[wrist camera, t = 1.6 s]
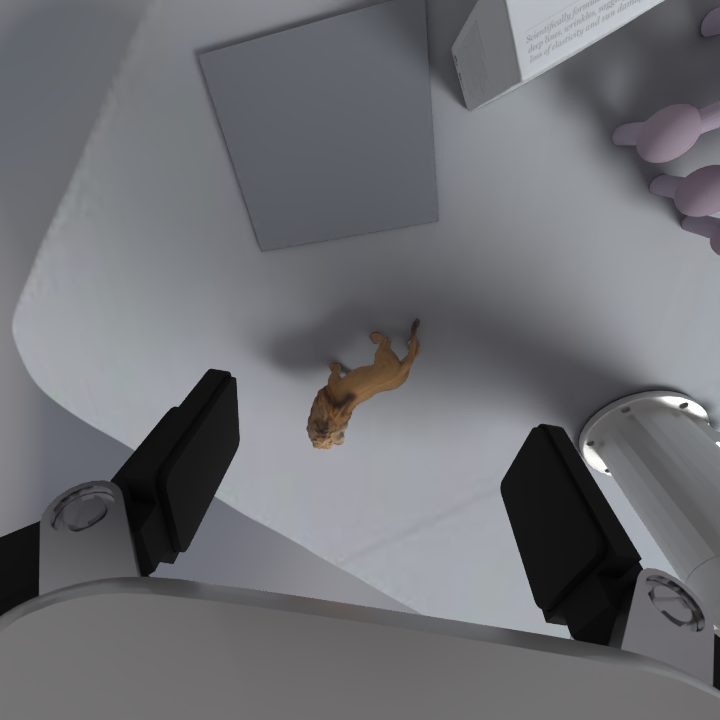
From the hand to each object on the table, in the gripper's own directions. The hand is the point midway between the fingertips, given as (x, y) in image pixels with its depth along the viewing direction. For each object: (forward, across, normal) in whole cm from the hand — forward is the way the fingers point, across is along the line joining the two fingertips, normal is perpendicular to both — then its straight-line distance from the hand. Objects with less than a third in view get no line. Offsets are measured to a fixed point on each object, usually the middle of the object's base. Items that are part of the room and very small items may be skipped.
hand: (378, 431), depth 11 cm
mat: (+24, +6, -7) cm, 26 cm away
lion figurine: (+24, 0, +13) cm, 27 cm away
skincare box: (+24, -5, -14) cm, 28 cm away
